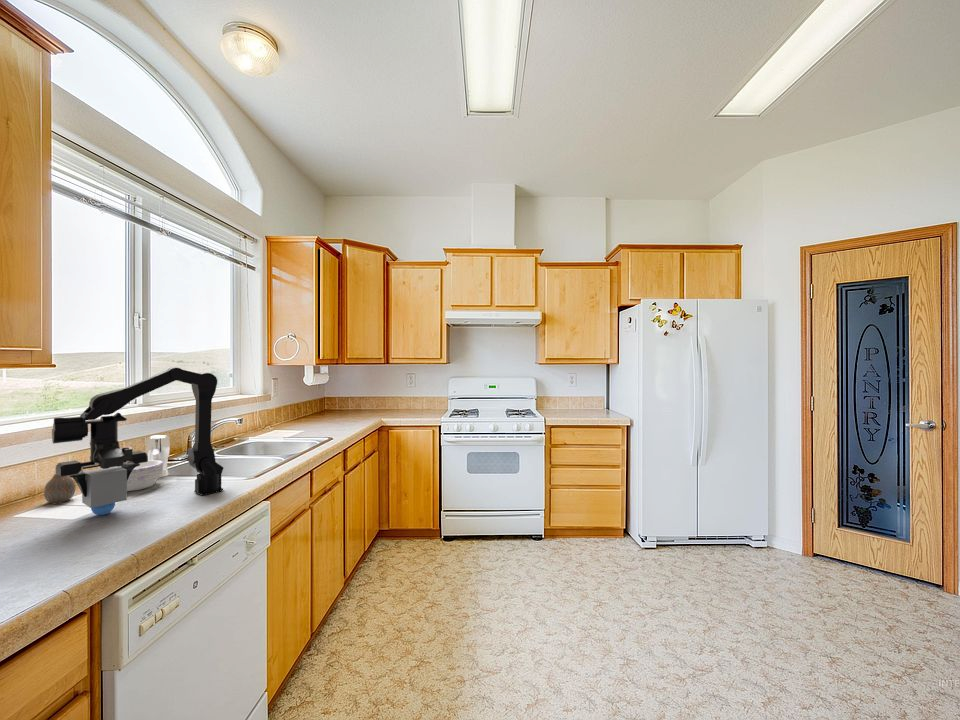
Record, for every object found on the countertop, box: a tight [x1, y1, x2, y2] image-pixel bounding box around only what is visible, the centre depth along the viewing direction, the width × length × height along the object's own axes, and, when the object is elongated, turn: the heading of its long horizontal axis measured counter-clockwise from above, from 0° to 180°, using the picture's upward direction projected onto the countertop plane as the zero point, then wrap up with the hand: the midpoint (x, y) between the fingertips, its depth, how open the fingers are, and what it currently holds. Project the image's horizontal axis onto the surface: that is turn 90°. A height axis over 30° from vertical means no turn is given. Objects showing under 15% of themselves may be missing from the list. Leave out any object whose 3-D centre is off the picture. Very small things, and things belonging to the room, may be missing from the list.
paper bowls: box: [120, 460, 163, 492], centre depth 141 cm, size 15×15×8 cm
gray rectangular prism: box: [81, 466, 128, 509], centre depth 117 cm, size 8×8×9 cm
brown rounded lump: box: [43, 473, 76, 504], centre depth 127 cm, size 7×7×9 cm
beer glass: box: [146, 434, 171, 479], centre depth 155 cm, size 7×7×15 cm
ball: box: [90, 503, 116, 516], centre depth 116 cm, size 5×5×5 cm
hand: (104, 492), depth 117 cm, fingers closed on gray rectangular prism, 8 cm apart
